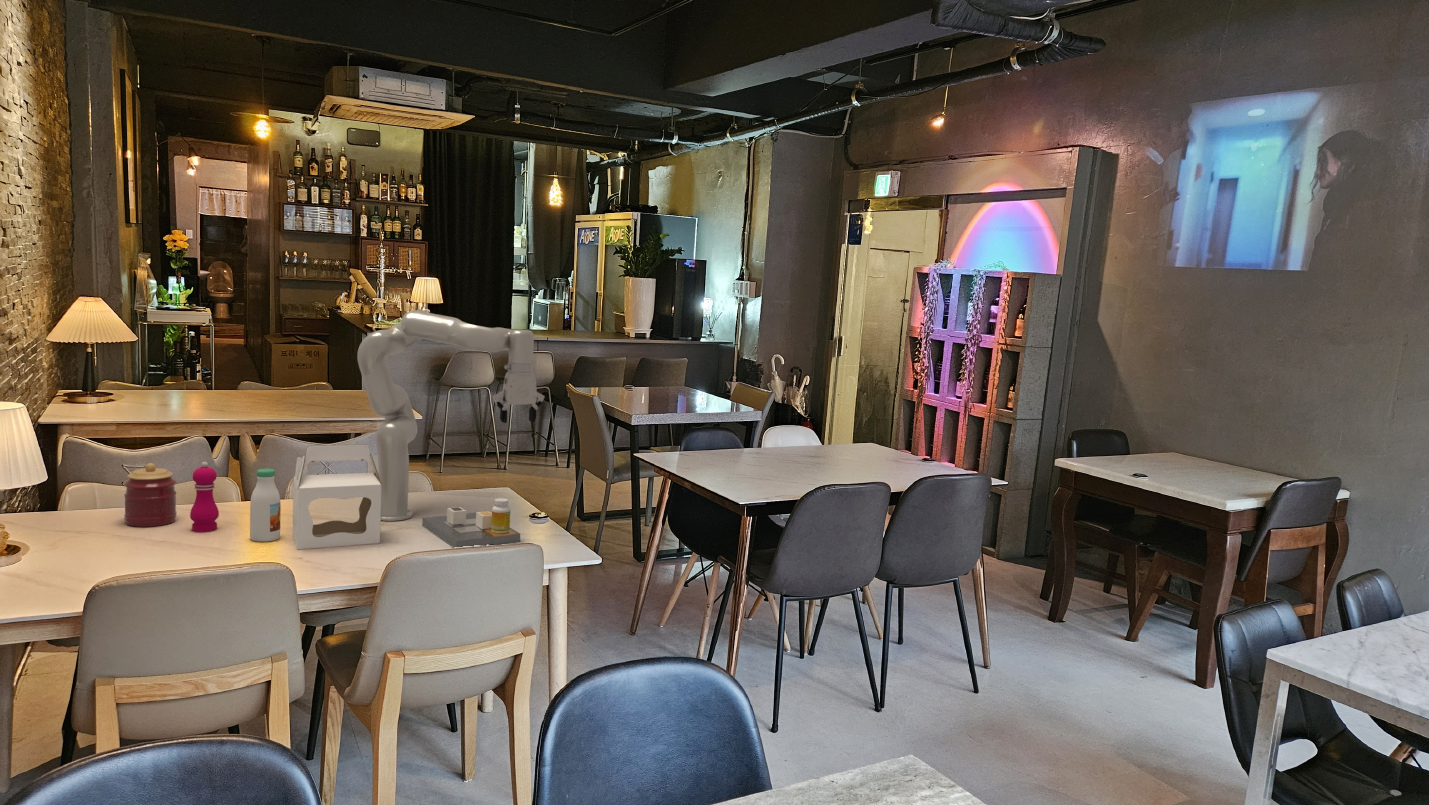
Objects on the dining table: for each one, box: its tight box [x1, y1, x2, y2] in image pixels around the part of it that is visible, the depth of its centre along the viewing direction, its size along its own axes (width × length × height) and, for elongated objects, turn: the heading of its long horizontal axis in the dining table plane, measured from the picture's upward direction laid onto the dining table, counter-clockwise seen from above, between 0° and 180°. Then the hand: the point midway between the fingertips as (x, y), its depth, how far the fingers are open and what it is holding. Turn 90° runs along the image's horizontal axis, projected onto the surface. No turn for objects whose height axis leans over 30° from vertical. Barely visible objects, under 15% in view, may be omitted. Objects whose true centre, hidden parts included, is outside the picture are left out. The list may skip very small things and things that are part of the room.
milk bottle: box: [249, 468, 282, 543], centre depth 250 cm, size 8×8×20 cm
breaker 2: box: [475, 510, 492, 529], centre depth 269 cm, size 4×5×4 cm
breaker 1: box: [446, 506, 467, 525], centre depth 271 cm, size 4×5×4 cm
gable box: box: [292, 443, 382, 550], centre depth 253 cm, size 22×13×28 cm, turn 120°
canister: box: [123, 462, 177, 528], centre depth 259 cm, size 13×13×18 cm
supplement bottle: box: [491, 497, 511, 533], centre depth 265 cm, size 5×5×10 cm
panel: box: [421, 512, 521, 548], centre depth 271 cm, size 20×28×3 cm
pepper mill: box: [189, 461, 220, 533], centre depth 255 cm, size 7×7×20 cm
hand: (517, 421), depth 282 cm, fingers open, 9 cm apart
